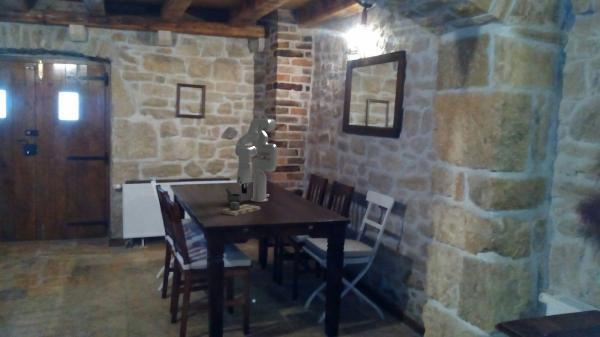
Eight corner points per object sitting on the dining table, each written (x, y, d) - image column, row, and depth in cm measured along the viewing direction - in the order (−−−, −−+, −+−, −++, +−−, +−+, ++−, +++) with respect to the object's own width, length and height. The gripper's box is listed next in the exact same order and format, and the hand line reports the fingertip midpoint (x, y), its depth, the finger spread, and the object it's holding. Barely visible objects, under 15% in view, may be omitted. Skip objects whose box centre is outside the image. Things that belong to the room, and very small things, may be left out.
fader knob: (233, 208, 315) (233, 201, 314) (239, 209, 312) (239, 202, 311) (229, 209, 311) (229, 202, 311) (235, 210, 308) (235, 203, 308)
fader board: (246, 207, 331) (246, 204, 331) (260, 209, 325) (260, 206, 325) (220, 213, 310) (220, 209, 309) (235, 215, 303) (235, 212, 303)
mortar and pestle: (238, 203, 344) (238, 186, 343) (243, 205, 336) (243, 188, 335) (223, 204, 339) (223, 187, 338) (227, 206, 331) (228, 189, 330)
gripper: (247, 163, 324) (247, 190, 327) (232, 166, 312) (232, 194, 315) (255, 165, 320) (255, 192, 323) (241, 168, 308) (241, 196, 311)
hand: (244, 193), depth 319 cm, fingers closed
